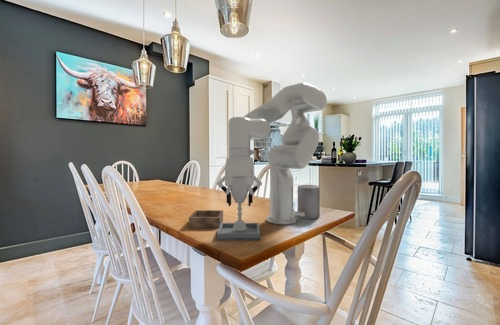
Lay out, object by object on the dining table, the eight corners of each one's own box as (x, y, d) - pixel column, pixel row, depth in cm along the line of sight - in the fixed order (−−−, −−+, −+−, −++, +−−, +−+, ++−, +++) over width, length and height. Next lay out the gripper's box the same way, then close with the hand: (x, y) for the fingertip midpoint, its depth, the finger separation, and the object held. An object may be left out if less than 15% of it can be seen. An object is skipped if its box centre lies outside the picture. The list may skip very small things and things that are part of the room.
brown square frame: (223, 219, 101) (223, 210, 101) (219, 228, 89) (219, 217, 89) (195, 219, 101) (195, 210, 101) (188, 228, 89) (188, 217, 89)
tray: (258, 228, 89) (258, 222, 89) (260, 240, 77) (260, 233, 77) (221, 228, 89) (221, 222, 89) (216, 240, 77) (216, 233, 77)
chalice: (251, 225, 86) (251, 175, 85) (249, 231, 79) (249, 177, 78) (231, 224, 86) (230, 175, 86) (227, 230, 80) (227, 177, 79)
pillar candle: (305, 212, 114) (305, 181, 113) (324, 216, 106) (324, 183, 106) (293, 216, 107) (292, 183, 107) (311, 220, 100) (311, 185, 99)
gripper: (263, 153, 86) (263, 203, 86) (216, 153, 86) (216, 203, 86) (265, 153, 78) (265, 207, 79) (212, 153, 78) (213, 207, 79)
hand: (239, 204), depth 82 cm, fingers closed on chalice, 6 cm apart
